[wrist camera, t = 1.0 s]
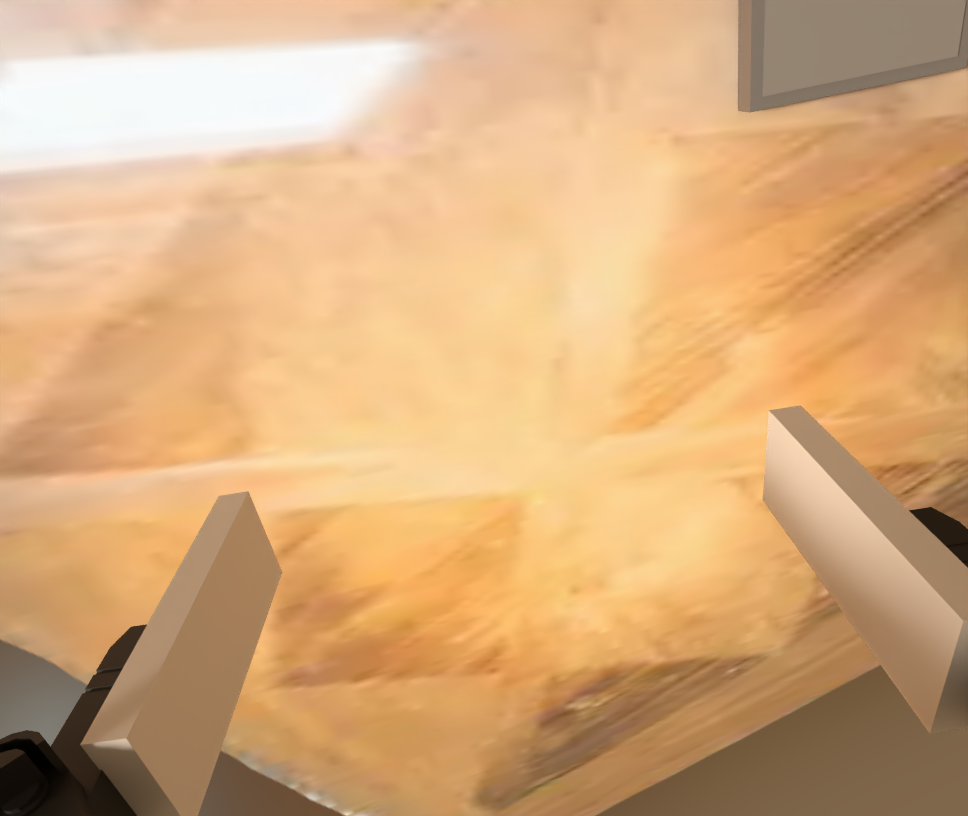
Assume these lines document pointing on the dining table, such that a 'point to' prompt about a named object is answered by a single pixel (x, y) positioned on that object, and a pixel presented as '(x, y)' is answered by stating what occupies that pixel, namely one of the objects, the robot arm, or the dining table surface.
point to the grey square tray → (843, 46)
